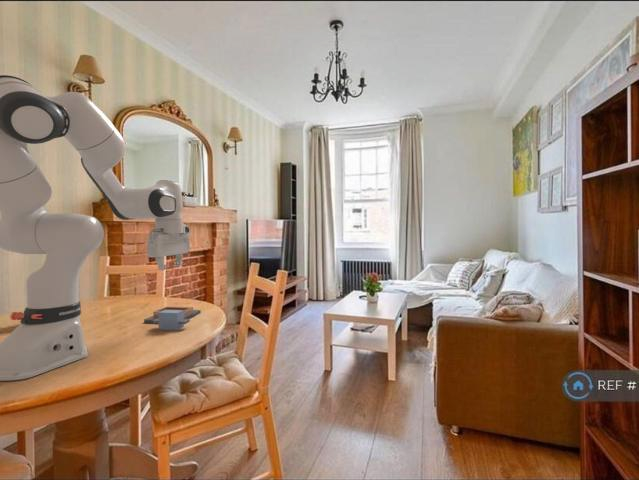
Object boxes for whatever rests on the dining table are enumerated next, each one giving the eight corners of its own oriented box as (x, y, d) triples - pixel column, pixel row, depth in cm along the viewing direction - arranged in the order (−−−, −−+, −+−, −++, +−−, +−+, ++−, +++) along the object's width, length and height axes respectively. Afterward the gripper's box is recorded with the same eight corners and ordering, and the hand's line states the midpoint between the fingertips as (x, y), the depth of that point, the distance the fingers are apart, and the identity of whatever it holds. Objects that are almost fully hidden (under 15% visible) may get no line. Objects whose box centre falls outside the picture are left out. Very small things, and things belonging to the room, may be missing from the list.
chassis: (179, 323, 123) (179, 315, 123) (144, 322, 125) (143, 314, 124) (200, 313, 138) (200, 305, 138) (169, 312, 140) (168, 304, 140)
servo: (184, 330, 115) (184, 313, 115) (152, 329, 117) (151, 312, 116) (190, 327, 119) (190, 310, 119) (159, 326, 121) (158, 309, 120)
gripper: (159, 228, 106) (160, 272, 106) (192, 228, 126) (193, 265, 127) (141, 228, 107) (142, 272, 107) (177, 228, 127) (177, 264, 127)
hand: (170, 268), depth 117 cm, fingers open, 8 cm apart
